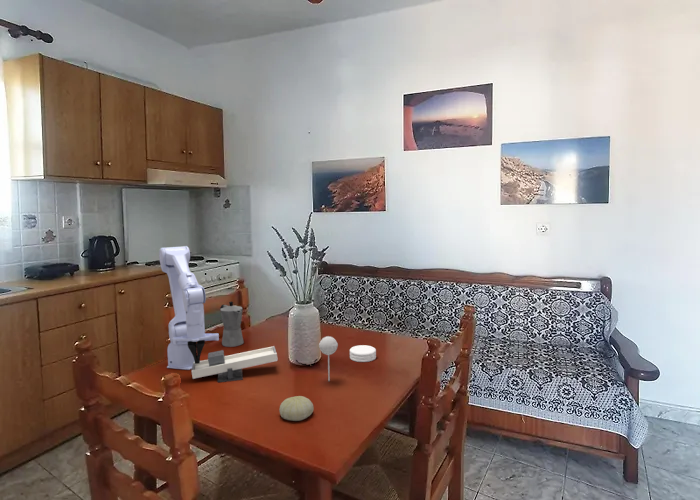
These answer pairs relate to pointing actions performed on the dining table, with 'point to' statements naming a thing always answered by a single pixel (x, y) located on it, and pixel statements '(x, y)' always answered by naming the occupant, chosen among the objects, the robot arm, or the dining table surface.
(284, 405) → the sea urchin shell
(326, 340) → the lollipop
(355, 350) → the coaster
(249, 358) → the beam
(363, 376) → the dining table surface
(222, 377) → the stand
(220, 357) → the grey block
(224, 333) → the coffeepot
